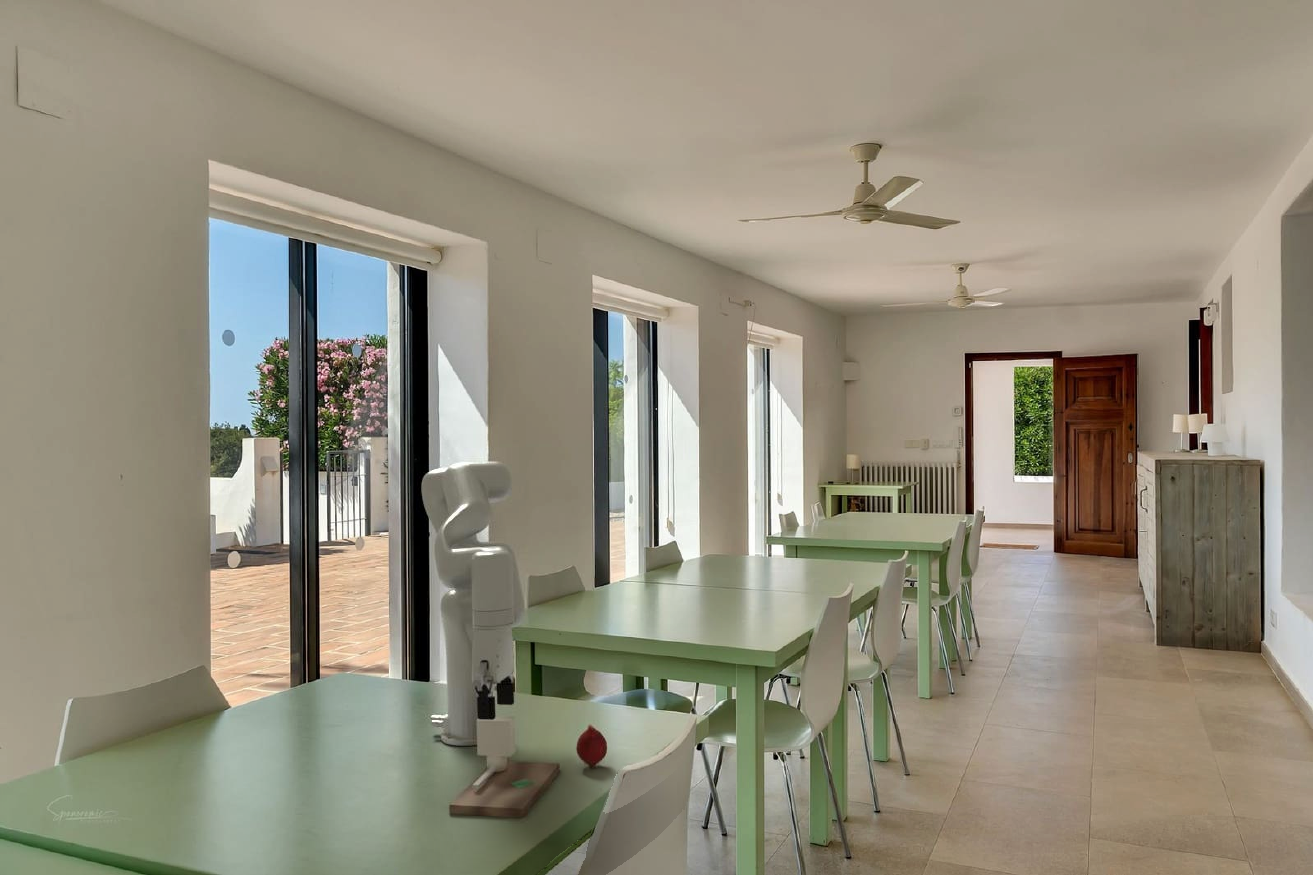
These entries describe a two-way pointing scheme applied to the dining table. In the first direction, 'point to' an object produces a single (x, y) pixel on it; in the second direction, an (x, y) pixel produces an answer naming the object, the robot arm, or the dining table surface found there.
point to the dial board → (507, 790)
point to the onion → (591, 746)
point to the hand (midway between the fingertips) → (496, 711)
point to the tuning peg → (495, 744)
